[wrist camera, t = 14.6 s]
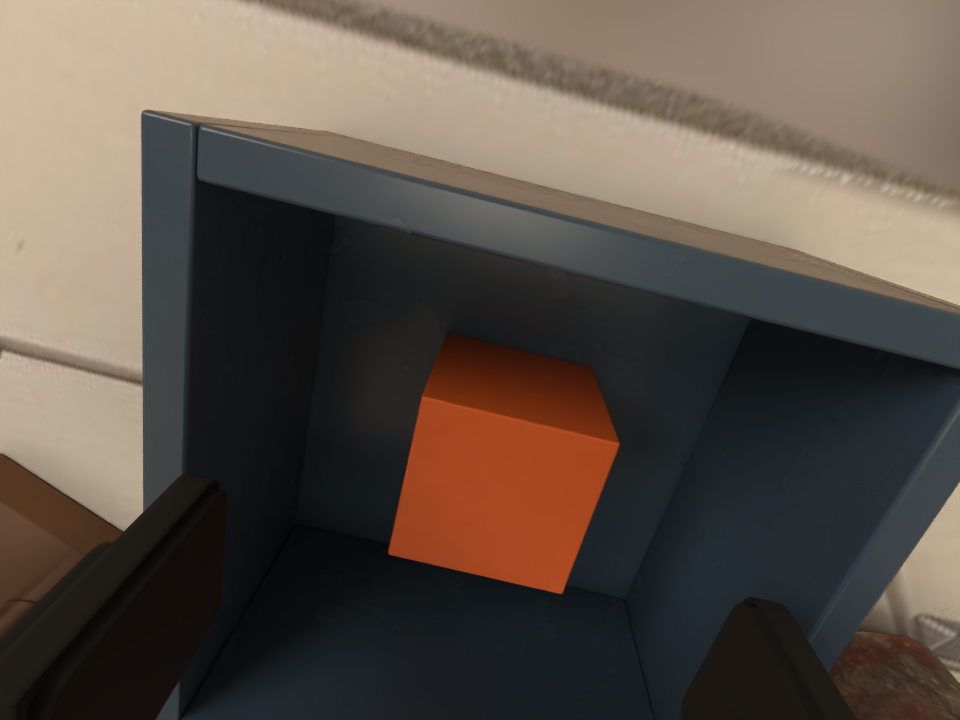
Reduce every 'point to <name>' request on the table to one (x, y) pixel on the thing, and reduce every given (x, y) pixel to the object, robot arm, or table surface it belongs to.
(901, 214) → the table surface
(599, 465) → the orange block
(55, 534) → the serving stand
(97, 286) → the table surface
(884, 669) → the brown textured cylinder
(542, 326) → the blue open crate
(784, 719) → the robot arm
